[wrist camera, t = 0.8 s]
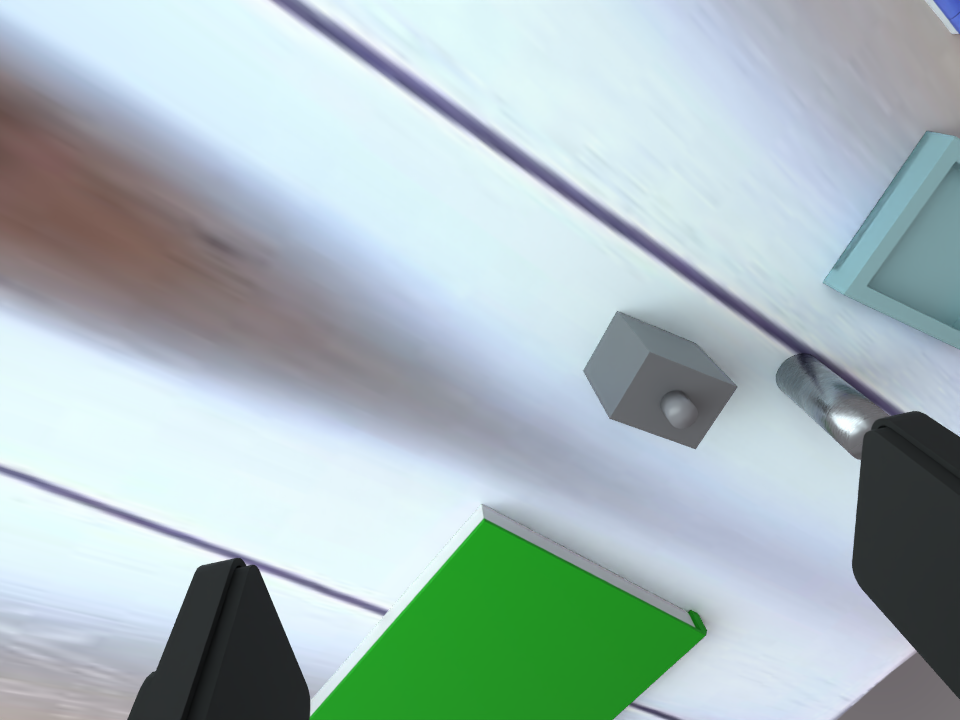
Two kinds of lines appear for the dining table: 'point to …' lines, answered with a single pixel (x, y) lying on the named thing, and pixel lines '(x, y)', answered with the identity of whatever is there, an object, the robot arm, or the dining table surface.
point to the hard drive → (947, 13)
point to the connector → (657, 381)
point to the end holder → (912, 245)
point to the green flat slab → (509, 637)
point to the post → (829, 401)
